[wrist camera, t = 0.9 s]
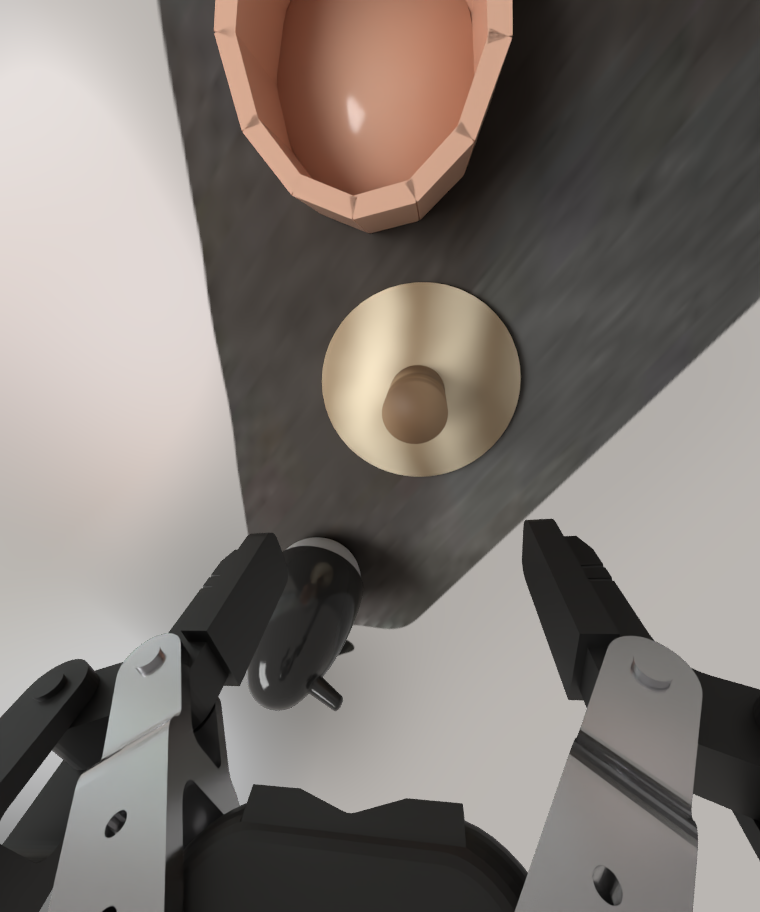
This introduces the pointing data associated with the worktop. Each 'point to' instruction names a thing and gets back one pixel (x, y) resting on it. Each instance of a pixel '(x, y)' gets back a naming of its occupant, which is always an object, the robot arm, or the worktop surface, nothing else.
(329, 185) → the bowl
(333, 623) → the pump dispenser
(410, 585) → the worktop surface
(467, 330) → the lid
